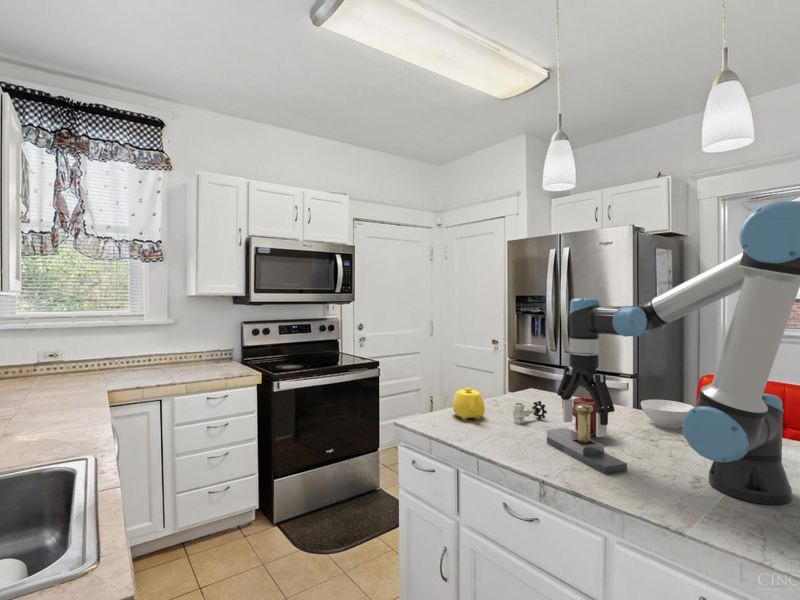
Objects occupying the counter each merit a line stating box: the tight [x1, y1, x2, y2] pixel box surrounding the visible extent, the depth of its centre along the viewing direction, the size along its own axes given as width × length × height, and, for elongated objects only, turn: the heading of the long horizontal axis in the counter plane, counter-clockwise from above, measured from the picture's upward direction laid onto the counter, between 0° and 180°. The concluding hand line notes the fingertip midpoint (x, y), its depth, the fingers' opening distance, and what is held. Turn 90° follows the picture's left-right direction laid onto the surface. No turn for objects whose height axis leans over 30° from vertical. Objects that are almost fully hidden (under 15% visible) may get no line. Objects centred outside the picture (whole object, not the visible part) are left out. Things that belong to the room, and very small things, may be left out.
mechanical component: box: [572, 395, 598, 439], centre depth 141 cm, size 12×10×10 cm
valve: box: [512, 400, 548, 425], centre depth 157 cm, size 7×7×12 cm
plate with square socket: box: [546, 427, 628, 475], centre depth 124 cm, size 24×7×4 cm, turn 17°
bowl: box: [640, 399, 695, 430], centre depth 151 cm, size 16×16×7 cm
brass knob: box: [575, 404, 593, 445], centre depth 124 cm, size 5×5×14 cm
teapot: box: [452, 387, 486, 421], centre depth 162 cm, size 18×11×11 cm, turn 13°
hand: (583, 428), depth 124 cm, fingers open, 13 cm apart
